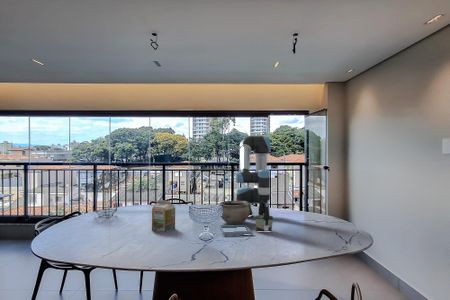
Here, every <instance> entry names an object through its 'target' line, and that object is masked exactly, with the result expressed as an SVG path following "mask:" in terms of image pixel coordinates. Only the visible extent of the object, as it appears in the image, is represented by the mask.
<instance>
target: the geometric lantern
mask: <svg viewBox="0 0 450 300" xmlns="http://www.w3.org/2000/svg"><path fill="white" fill-rule="evenodd" d="M114 177H115V178H114ZM98 178H99V179H98ZM92 180H93V181H95V182H96V183H97V184H98V185H97V187H96V199H95V207H94V212H95V213H96V214H98V218H103V219H109V218H111V217H114V214H115V213H116V212H117V211H118V205H117V182H119V180H121V178H120V177H118V176H116V175H114V174H113V173H111V172H107V171H106V172H104V173H103V174H100V175H99V176H97V177H94V178H93V179H92ZM107 181H108V182H110V183H109V185H108V187H106V186H105V185H104V183H105V182H107ZM100 185H102V186H103V188H99V186H100ZM111 185H113V186H114V187H113V188H112V187H111ZM110 187H111V188H110ZM100 190H101V191H102V190H103V192H104V195H103V202H104V203H103V208H102V209H97V208H98V207H97V205H98V192H99V191H100ZM110 190H114V194H115V196H114V197H115V209H113V208H112V209H111V208H110V200H109V199H110V192H109V191H110ZM101 211H102V212H101Z"/></svg>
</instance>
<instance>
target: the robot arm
mask: <svg viewBox="0 0 450 300" xmlns="http://www.w3.org/2000/svg"><path fill="white" fill-rule="evenodd" d="M271 145H272V144H271V139H270V137H269V136H267V135H249V136H246V137H244V138H243V139H242V140H241V141H240V142H239V144H238V152H239V165H238V167H239V168H238V171H237V172H236V173H235V182H236V183H238V184H255V185H253V188H252V187H251V186H243V187H239V188H238V187H237V189H236V193H235V195H236V197H235V198H236V200H235V201H246V202H248V203H249V215H252V214H253V215H254V212H253V209H252V204H259V205H258V213H257V214H258V215H264V231H268V227H269V220H270V216H271V215H270V205H269V201H270V200H271V188H270V187H271V185H270V184H271V183H270V182H271V171H270V170H269V169H267V168H268V167H267V166H268V163H267V161H268V155H269V153H270V152H271V150H272V148H271V147H272V146H271ZM251 151H252V152H253V154H254V155H255V172H254V171H253V172H251V158H250V157H251V156H250V155H251V154H250V153H251Z"/></svg>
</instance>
